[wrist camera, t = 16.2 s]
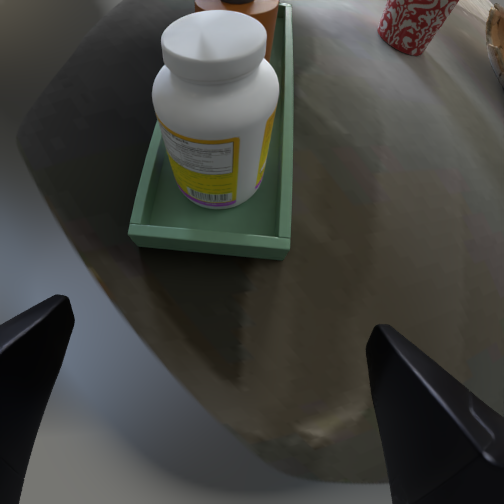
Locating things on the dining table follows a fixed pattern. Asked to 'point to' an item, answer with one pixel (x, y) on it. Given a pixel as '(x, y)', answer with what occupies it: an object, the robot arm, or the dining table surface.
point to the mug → (413, 23)
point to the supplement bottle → (216, 105)
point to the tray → (235, 218)
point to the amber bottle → (252, 4)
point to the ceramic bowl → (496, 40)
